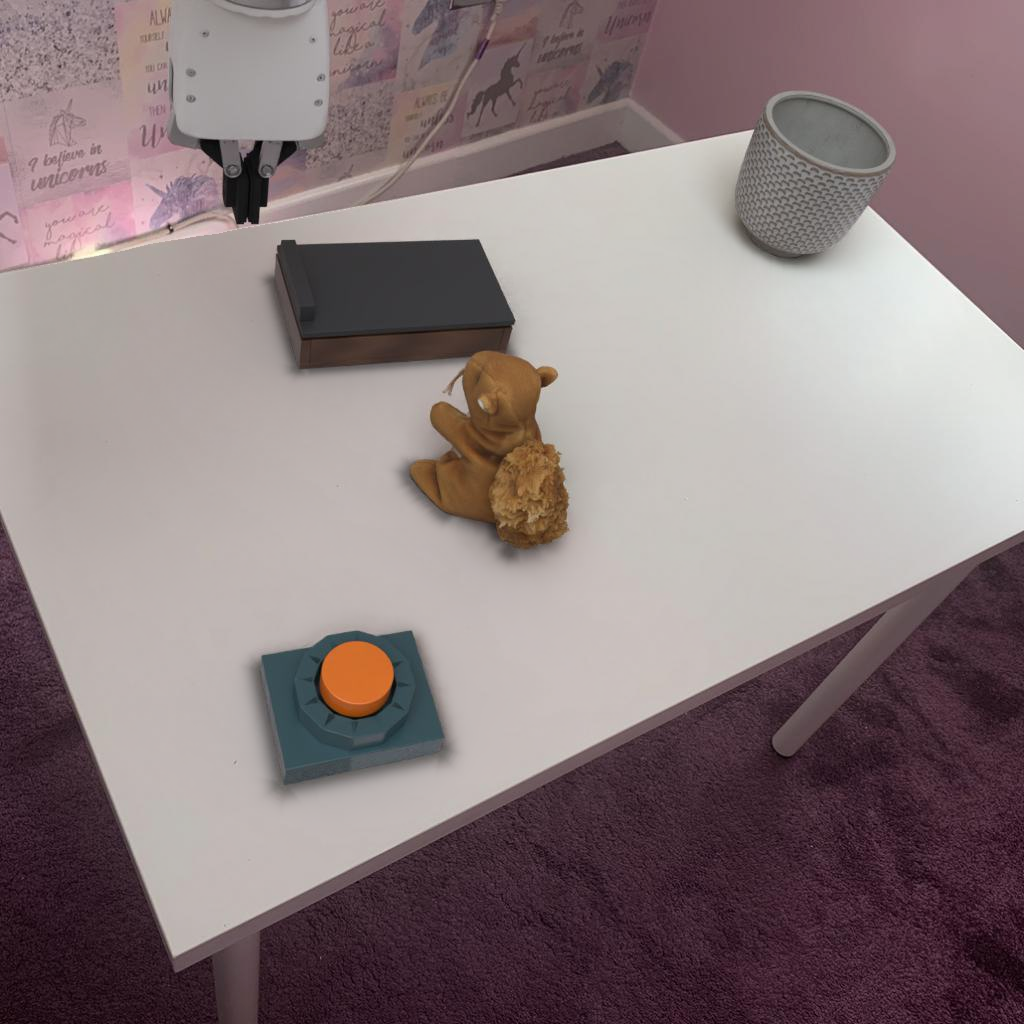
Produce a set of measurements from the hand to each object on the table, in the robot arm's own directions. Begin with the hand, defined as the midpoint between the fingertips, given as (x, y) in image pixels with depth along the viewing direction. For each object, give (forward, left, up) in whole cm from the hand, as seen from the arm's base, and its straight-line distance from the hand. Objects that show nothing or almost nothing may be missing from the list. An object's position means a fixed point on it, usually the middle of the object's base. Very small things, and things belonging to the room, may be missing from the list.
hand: (244, 212), depth 78 cm
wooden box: (+13, 0, -12) cm, 18 cm away
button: (+1, -36, -8) cm, 37 cm away
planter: (+58, +9, -12) cm, 60 cm away
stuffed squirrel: (+16, -21, -12) cm, 29 cm away
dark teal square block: (+1, -36, -12) cm, 38 cm away
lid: (+13, 0, -8) cm, 15 cm away
